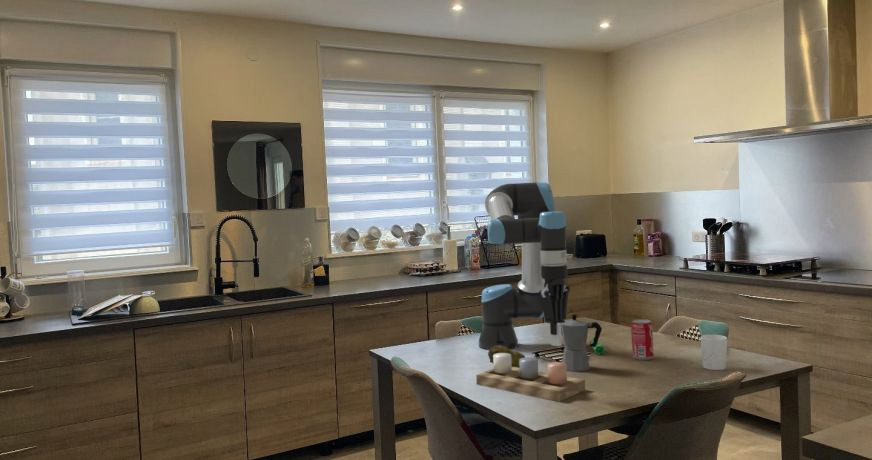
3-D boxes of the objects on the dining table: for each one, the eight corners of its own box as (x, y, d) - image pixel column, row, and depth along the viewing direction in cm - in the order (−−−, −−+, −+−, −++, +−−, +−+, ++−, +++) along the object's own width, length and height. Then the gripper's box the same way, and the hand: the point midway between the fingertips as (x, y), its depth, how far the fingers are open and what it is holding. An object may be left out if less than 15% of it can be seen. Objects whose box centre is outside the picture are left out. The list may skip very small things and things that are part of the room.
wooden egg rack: (476, 384, 207) (476, 374, 206) (503, 374, 217) (503, 365, 217) (559, 401, 186) (559, 391, 186) (585, 389, 196) (584, 379, 196)
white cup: (715, 372, 210) (715, 340, 209) (695, 366, 217) (695, 336, 216) (732, 368, 213) (732, 337, 213) (712, 363, 220) (712, 333, 220)
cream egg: (490, 371, 208) (489, 355, 208) (501, 367, 212) (500, 352, 212) (504, 374, 204) (503, 358, 204) (515, 370, 208) (514, 354, 208)
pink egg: (543, 381, 194) (543, 365, 194) (554, 377, 198) (554, 361, 198) (560, 385, 191) (559, 367, 190) (570, 380, 195) (570, 363, 194)
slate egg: (516, 376, 201) (515, 360, 201) (526, 372, 205) (526, 356, 205) (531, 379, 197) (530, 362, 197) (542, 375, 201) (541, 358, 201)
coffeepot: (552, 370, 219) (551, 316, 218) (558, 363, 228) (557, 311, 227) (600, 373, 213) (599, 318, 212) (604, 366, 222) (603, 312, 221)
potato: (528, 371, 219) (527, 347, 219) (489, 372, 219) (488, 348, 219) (525, 364, 227) (524, 341, 227) (487, 366, 228) (486, 343, 227)
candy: (588, 345, 250) (594, 336, 249) (595, 350, 249) (601, 341, 249) (593, 352, 238) (599, 343, 237) (601, 358, 237) (607, 348, 237)
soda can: (654, 360, 226) (654, 322, 226) (632, 360, 228) (632, 322, 227) (652, 355, 233) (651, 318, 233) (631, 355, 235) (630, 318, 234)
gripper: (552, 267, 185) (555, 351, 186) (577, 263, 195) (579, 342, 196) (530, 266, 190) (532, 347, 192) (555, 262, 200) (557, 339, 201)
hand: (556, 345), depth 194 cm, fingers closed
